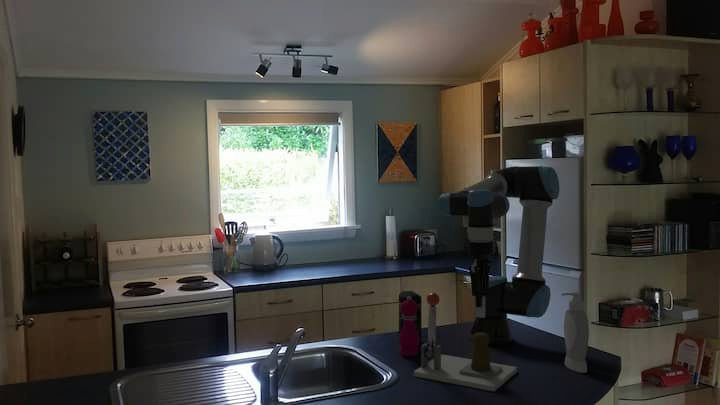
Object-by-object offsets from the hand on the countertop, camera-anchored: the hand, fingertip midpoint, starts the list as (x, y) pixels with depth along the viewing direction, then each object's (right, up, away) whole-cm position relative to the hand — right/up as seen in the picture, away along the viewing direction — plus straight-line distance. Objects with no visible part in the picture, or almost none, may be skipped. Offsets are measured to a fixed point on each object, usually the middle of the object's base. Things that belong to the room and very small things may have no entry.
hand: (480, 316), depth 198 cm
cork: (0, -16, +1) cm, 16 cm away
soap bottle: (+31, -18, +8) cm, 36 cm away
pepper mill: (-20, -17, +25) cm, 36 cm away
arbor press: (-5, -18, +4) cm, 19 cm away
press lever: (-15, -14, +5) cm, 21 cm away
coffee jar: (-18, -16, +38) cm, 46 cm away
